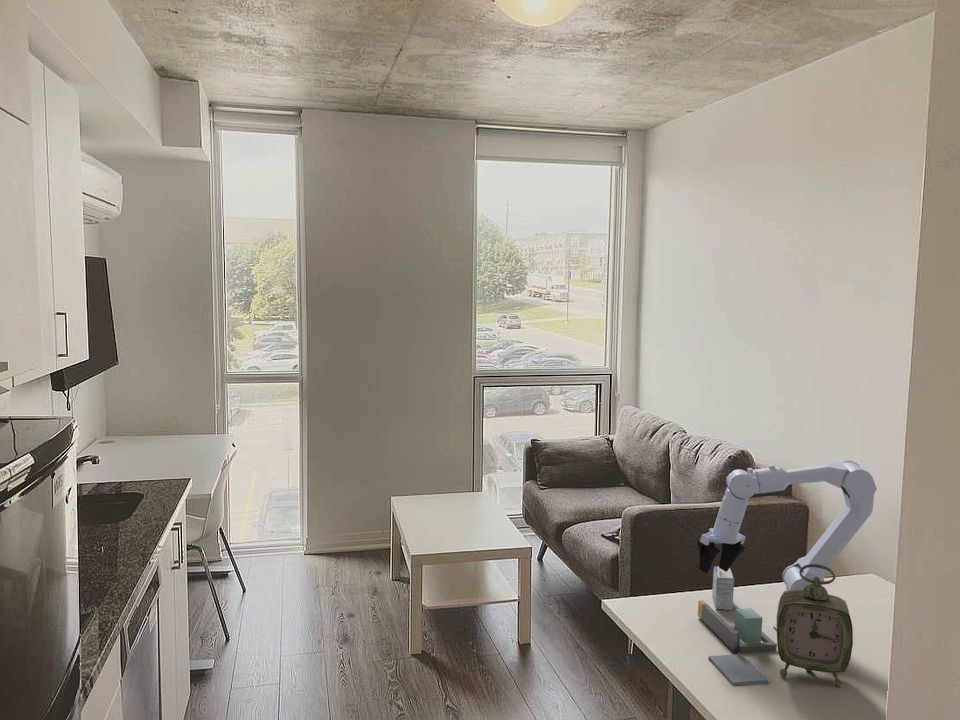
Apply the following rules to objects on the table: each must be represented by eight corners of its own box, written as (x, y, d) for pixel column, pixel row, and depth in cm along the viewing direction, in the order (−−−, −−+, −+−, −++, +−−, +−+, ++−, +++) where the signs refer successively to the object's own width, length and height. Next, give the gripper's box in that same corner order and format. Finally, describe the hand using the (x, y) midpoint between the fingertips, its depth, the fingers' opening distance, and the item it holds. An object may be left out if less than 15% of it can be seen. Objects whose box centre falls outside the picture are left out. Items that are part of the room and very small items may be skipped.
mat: (741, 656, 170) (741, 653, 170) (767, 682, 159) (767, 679, 159) (708, 658, 169) (708, 656, 169) (732, 685, 158) (732, 682, 158)
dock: (753, 630, 183) (754, 624, 183) (776, 650, 173) (776, 644, 173) (719, 632, 181) (719, 626, 181) (740, 653, 172) (740, 646, 171)
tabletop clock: (773, 678, 161) (781, 566, 158) (773, 659, 169) (780, 551, 166) (848, 693, 156) (858, 577, 153) (844, 672, 164) (853, 561, 161)
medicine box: (732, 611, 193) (734, 578, 192) (714, 609, 194) (716, 577, 193) (729, 598, 201) (730, 567, 200) (711, 596, 202) (713, 565, 201)
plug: (750, 634, 181) (752, 606, 180) (764, 647, 175) (766, 618, 174) (730, 636, 180) (732, 608, 179) (743, 648, 174) (745, 619, 173)
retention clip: (702, 616, 189) (703, 598, 189) (740, 653, 171) (741, 633, 170) (697, 616, 189) (698, 598, 188) (734, 653, 171) (735, 633, 170)
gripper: (734, 511, 189) (719, 561, 191) (697, 511, 181) (681, 563, 183) (758, 523, 183) (741, 575, 185) (720, 524, 175) (703, 577, 177)
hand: (713, 570), depth 184 cm, fingers open, 7 cm apart
